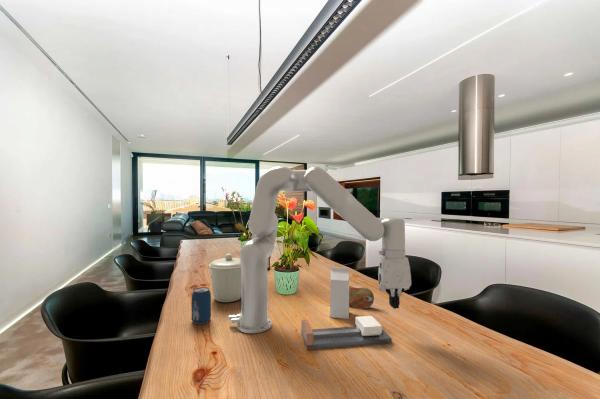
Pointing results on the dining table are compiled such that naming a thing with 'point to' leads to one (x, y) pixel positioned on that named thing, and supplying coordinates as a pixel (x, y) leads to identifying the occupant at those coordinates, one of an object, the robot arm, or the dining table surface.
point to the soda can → (201, 305)
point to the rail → (339, 337)
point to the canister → (226, 278)
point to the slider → (368, 326)
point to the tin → (360, 297)
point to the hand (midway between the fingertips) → (394, 306)
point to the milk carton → (339, 292)
